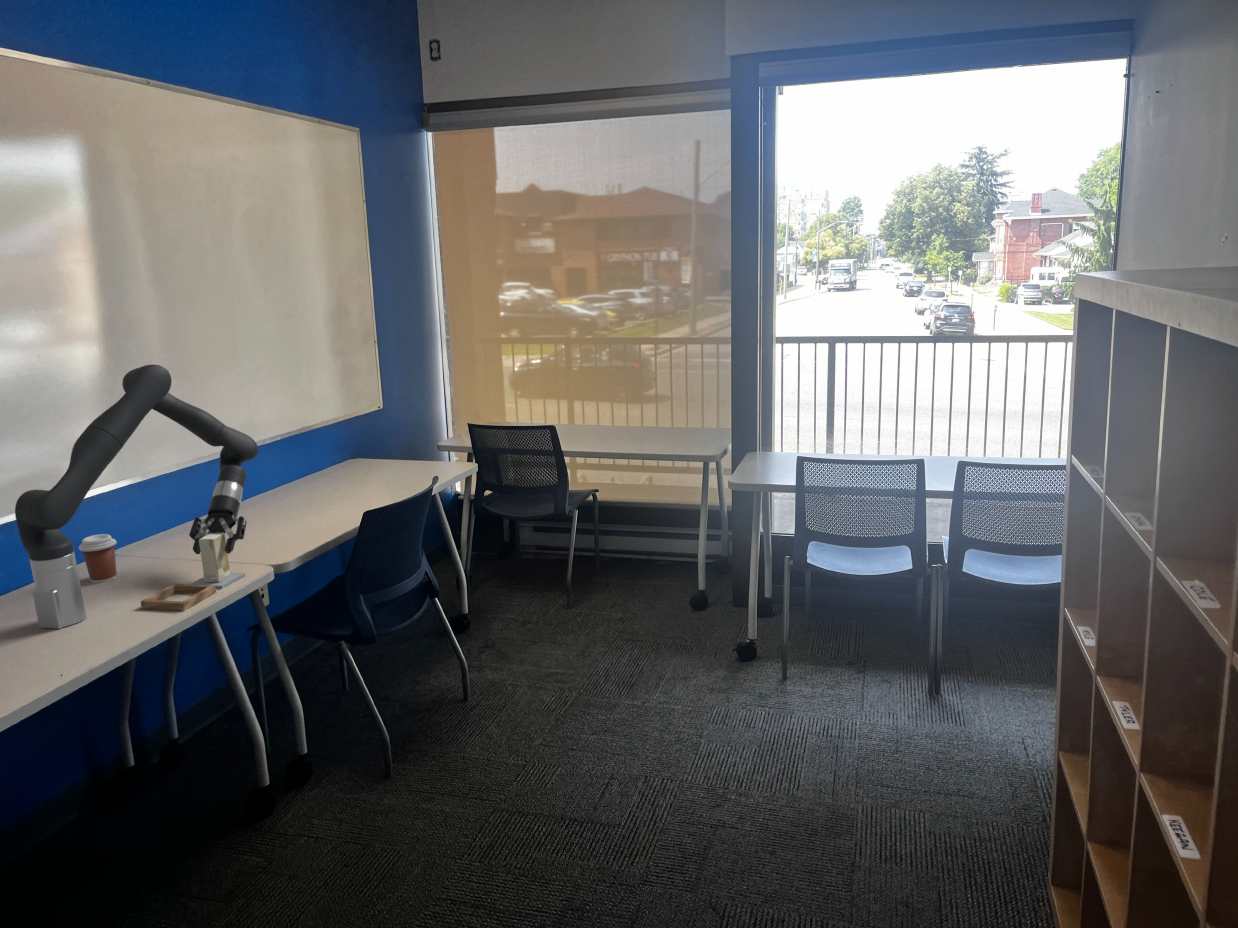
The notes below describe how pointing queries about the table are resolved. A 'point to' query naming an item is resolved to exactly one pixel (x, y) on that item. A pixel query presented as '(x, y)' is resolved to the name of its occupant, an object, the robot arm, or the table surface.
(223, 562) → the skincare box
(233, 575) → the grey rubber pad
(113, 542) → the coffee cup
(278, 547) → the table surface
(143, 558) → the table surface
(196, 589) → the frame
